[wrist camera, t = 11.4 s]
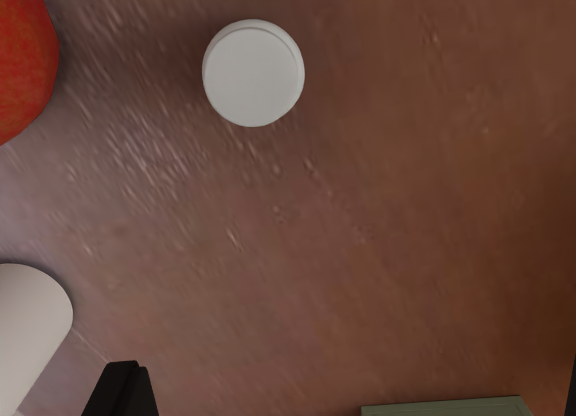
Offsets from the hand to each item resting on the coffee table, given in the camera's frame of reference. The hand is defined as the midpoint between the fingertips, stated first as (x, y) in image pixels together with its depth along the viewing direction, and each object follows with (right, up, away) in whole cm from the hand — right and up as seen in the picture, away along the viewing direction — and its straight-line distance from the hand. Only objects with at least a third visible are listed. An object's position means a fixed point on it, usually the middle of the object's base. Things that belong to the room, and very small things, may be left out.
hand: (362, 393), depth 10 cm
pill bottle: (-3, +12, +17) cm, 22 cm away
